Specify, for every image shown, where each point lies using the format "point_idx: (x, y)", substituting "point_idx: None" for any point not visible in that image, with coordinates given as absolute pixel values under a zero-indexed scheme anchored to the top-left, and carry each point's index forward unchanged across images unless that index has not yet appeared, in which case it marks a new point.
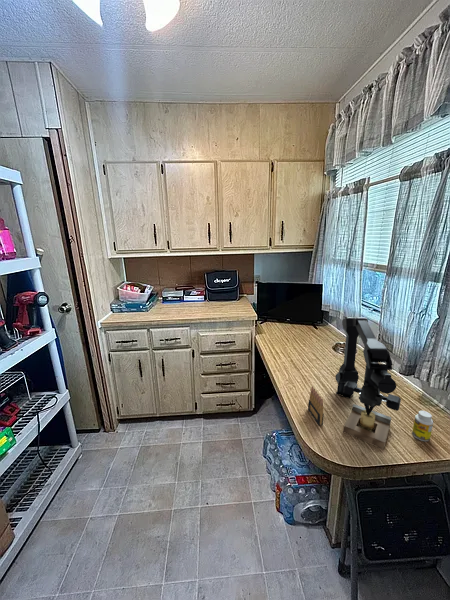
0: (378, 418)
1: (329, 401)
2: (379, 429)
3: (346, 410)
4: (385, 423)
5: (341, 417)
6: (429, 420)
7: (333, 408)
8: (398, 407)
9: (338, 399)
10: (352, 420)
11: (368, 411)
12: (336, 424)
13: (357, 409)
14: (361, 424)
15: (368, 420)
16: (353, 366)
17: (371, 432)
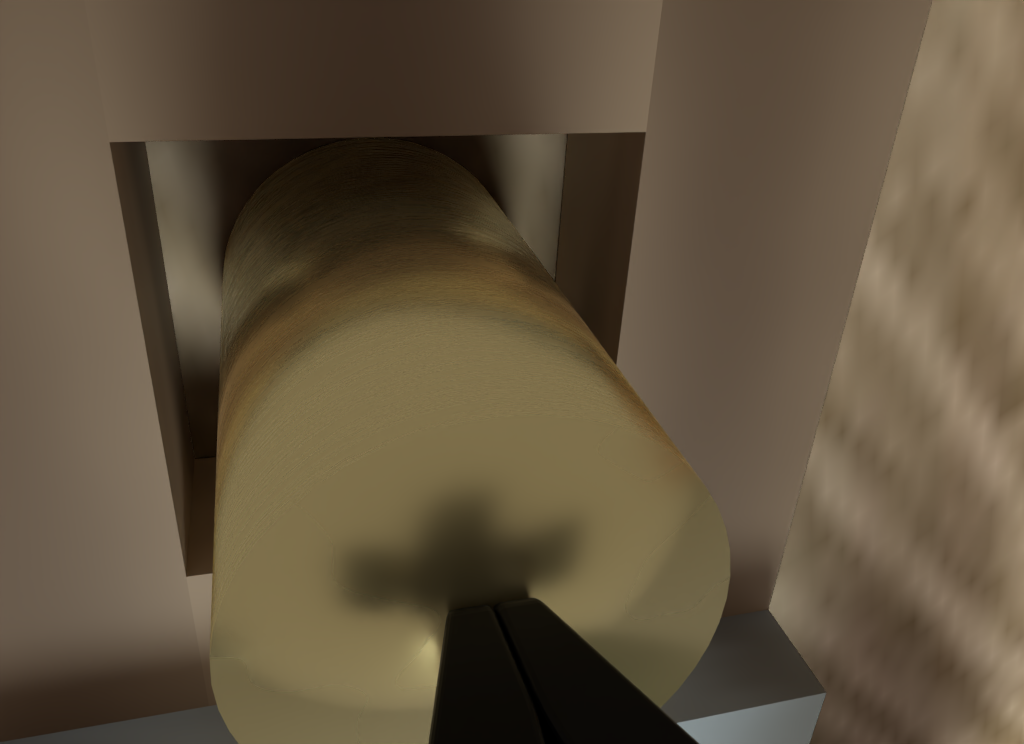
0: (223, 740)
1: (1020, 599)
2: (61, 413)
3: (778, 589)
4: (42, 711)
5: (854, 366)
6: None
7: (975, 494)
8: None
9: (892, 720)
10: (744, 294)
11: (540, 728)
12: (951, 83)
13: (697, 682)
14: (532, 259)
15: (395, 361)
16: None
17: (199, 123)
